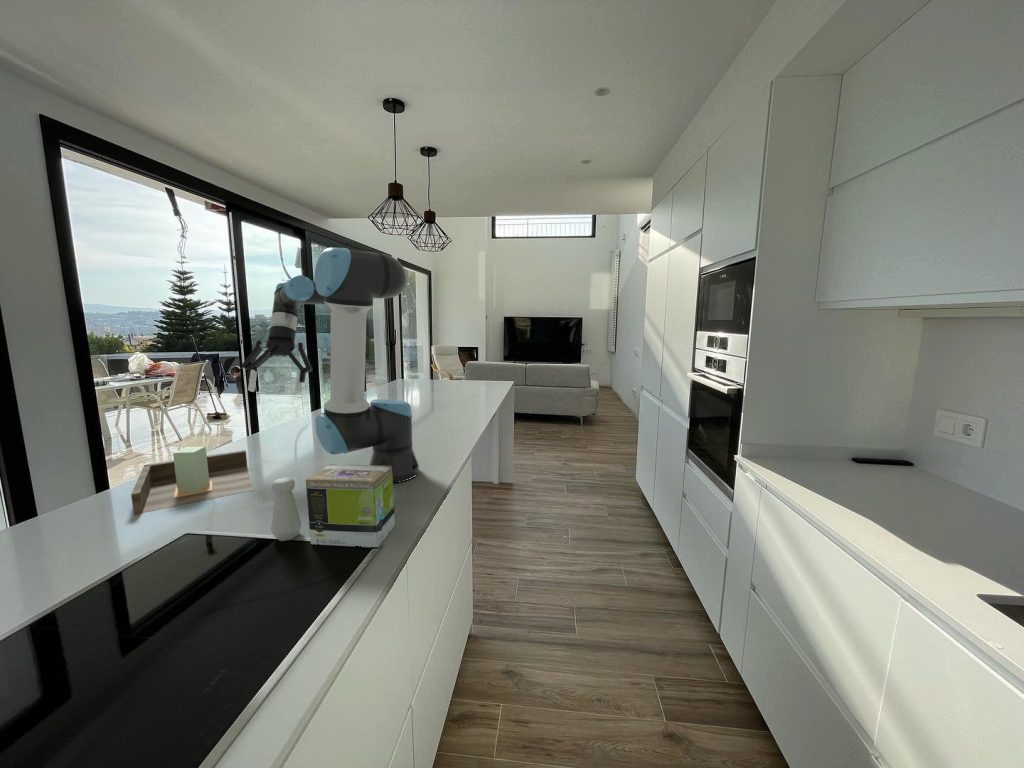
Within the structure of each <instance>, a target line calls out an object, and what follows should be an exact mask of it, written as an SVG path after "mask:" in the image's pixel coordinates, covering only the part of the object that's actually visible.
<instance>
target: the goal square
mask: <svg viewBox="0 0 1024 768" xmlns="http://www.w3.org/2000/svg"><path fill="white" fill-rule="evenodd" d="M209 482H210V485H208V486H207V487H205V488H204V489H202V490H201V491H199V492H186V493H178V490H177V487H176V489H175V494H174V498H178V497H183V496H188V495H193V494H199V493H204V492H209V491H212V481H209Z"/></svg>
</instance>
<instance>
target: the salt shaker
mask: <svg viewBox="0 0 1024 768" xmlns="http://www.w3.org/2000/svg"><path fill="white" fill-rule="evenodd" d="M295 487H296V483H295V480H294V479H293V477H280V478H278V479H275V480H274V481H273V482H272V483H271V491H272V492H273V493H275V494H274V502H273V508H272V509H273V510H272V517H271V525H270V531H271V533H272V535H273V536H274V537H275V539H276V540H278V541H280V542H285V541H291V540H293V539H295V538H296V537H298V536H299V532H300V530H301V527H302V519H301V516H300V512H299V510H298V505H297V504H296V500H295V497H294V493H293V490H294V489H295ZM294 537H295V538H294Z"/></svg>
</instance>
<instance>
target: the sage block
mask: <svg viewBox="0 0 1024 768" xmlns="http://www.w3.org/2000/svg"><path fill="white" fill-rule="evenodd" d="M172 456H173V461H174V465H175V474H176V482H177V490H178V493H186V492H199V491H201V490H202V489H204V488H205V487H207V486H208V485H210V482H209V473H208V464H207V456H208V455H207V446H185V447H183V448H181V449H179V450H177V451H174V452H172Z"/></svg>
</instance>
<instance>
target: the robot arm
mask: <svg viewBox="0 0 1024 768" xmlns="http://www.w3.org/2000/svg"><path fill="white" fill-rule="evenodd" d="M314 269H315V270H314V280H311V279H310V278H309V277H307V276H305V275H301V274H298V275H297V274H296V275H293V276H292V277H291V278H289V279H287V280H286V281H282V282H279V283H278V284H276V286H275V291H274V295H273V296H274V298H273V305H272V310H271V311H272V313H271V317H270V318H271V319H270V322H269V326H270V327H269V331H268V340H267V342H265V341H261V340H257V341H256V343H255V346H254V347H253V349H252V350H251V352H250V353H249V355H248V356H247V357H246V358H245V360H244V361H243V362H242V364H241V368H243V369H244V370H247V372H246V373H247V374H246V380H247V381H248V385H247V391H249V392H252V393H254V392H255V390H256V384H257V383H256V382H257V376H258V372H257V369H259V368H260V366H262V365H263V364H264V363H266V362H267V361H268V360H269V359H270V358H273V356H274V357H282V358H283V357H284V358H285V357H288V358H290V359H291V361H292V362H293V363H294V364H295V366H296V367H297V368H298V369H299V371H297V373H296V379H295V380H296V381H295V387H294V392H295V393H297V394H301V390H302V383H303V384H304V383H305V381H306V375H307V373H309V372H310V373H311V372H313V367H312V364H311V363H310V360H309V358H308V356H307V353H306V351H305V345H304V344H303V342H298V343H295V340H296V330H297V324H298V317H299V310H300V307H301V306H302V305H321V306H322V305H326V306H327V307H328V308H329V309H330V354H329V355H330V356H329V357H330V359H329V360H330V373H329V375H330V377H329V379H330V383H329V386H330V387H329V392H330V393H329V394H330V395H329V396H330V398H329V400H327V401H325V403H324V404H323V412H320V413H318V414H317V415H316V416H315V420H314V421H315V422H314V423H315V426H314V427H315V431H316V435H317V438H318V441H319V443H320V445H321V446H322V448H323V450H324V451H325V452H326V453H328V454H329V455H330V456H331V455H332V456H336V455H342V454H345V455H346V454H348V453H352V452H356V451H359V450H360V451H361V450H364V449H368V448H372V453H371V458H370V461H369V463H368V465H377V466H392V476H393V482H398V483H400V482H399V481H403V480H406V479H409V478H411V477H413V476H415V475H417V474H418V472H419V473H420V466H419V463H418V459H417V457H416V454H415V452H414V449H413V448H414V447H413V425H412V424H413V423H412V421H413V419H412V418H413V413H412V407H411V405H410V403H408V402H407V401H403V400H398V399H388V398H385V399H384V398H378V399H373V400H370V402H368V401H367V400H366V399H365V384H366V383H365V382H366V381H365V380H366V378H365V377H366V348H367V346H366V345H367V341H366V340H367V316H368V315H367V313H368V311H370V310H371V309H372V308H374V307H373V306H374V299H390V298H394V297H398V296H399V295H401V294H402V293H403V291H404V290H405V288H406V286H407V283H408V282H407V279H408V278H407V272H406V270H405V268H404V266H403V264H401V262H400V261H398V259H396V258H394V257H393V256H391V255H389V254H385V253H382V252H372V251H366V250H359V249H358V250H357V249H353V248H346V247H328V248H326V249H324V250H322V252H321V253H320V255H319V257H318V259H317V260H316V265H315V268H314ZM265 348H267V349H265ZM264 349H265V351H264V352H263V353H262V351H263V350H264ZM295 349H296V350H297V351H298V352H299V355H300V357H301V359H302V361H303V363H304V365H305V367H304V366H303V365H302V363H301V362H300V361H299V360H298V359H297V357H296V356H295V354H294V353H293V351H294V350H295ZM261 353H262V354H261ZM260 354H261V355H260ZM259 355H260V356H259ZM418 475H419V474H418ZM418 475H417V476H418ZM403 482H404V481H403Z"/></svg>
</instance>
